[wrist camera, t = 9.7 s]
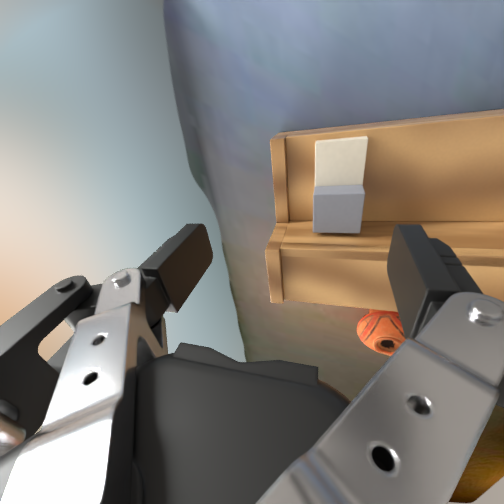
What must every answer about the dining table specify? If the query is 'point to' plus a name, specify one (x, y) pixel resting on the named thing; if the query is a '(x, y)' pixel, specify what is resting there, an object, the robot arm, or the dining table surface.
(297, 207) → the stepped wooden ledge
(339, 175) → the block chair shape
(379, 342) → the pot
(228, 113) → the dining table surface
